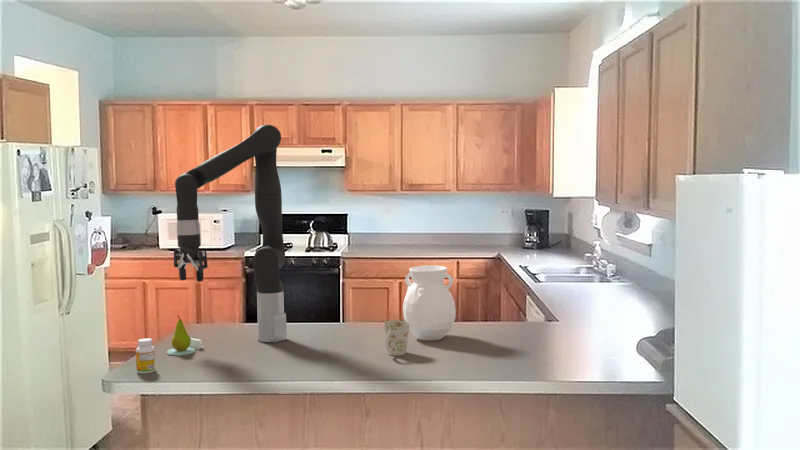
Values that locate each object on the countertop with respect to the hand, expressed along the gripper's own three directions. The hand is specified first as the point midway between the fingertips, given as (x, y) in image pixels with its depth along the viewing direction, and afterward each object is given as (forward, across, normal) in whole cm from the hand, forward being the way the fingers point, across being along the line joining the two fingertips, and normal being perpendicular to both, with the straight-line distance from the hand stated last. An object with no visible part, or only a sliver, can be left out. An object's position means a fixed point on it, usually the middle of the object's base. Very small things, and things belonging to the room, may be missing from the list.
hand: (191, 280), depth 256 cm
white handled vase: (+25, -61, -53) cm, 84 cm away
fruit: (+22, -3, +8) cm, 24 cm away
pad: (+23, -2, +8) cm, 24 cm away
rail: (+23, 0, +1) cm, 23 cm away
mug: (+25, -64, -26) cm, 74 cm away
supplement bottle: (+23, -12, +29) cm, 39 cm away
